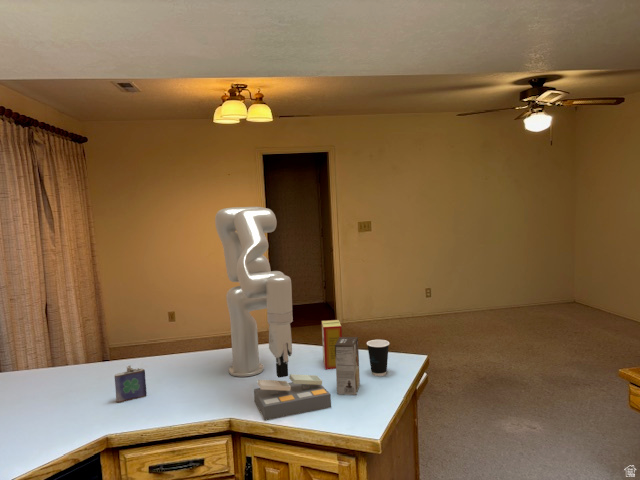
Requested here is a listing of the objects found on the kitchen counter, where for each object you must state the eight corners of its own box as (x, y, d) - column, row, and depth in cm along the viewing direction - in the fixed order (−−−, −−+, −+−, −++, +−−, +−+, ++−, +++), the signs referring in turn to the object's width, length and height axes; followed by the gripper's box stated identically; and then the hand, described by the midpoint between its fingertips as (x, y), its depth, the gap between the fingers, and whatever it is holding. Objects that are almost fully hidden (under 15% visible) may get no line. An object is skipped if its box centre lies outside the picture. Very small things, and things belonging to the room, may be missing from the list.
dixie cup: (390, 369, 168) (389, 339, 167) (390, 378, 160) (389, 346, 159) (368, 369, 169) (367, 339, 168) (366, 377, 161) (365, 346, 161)
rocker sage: (289, 378, 145) (289, 374, 145) (316, 379, 149) (316, 375, 149) (293, 383, 141) (294, 379, 141) (321, 384, 144) (322, 380, 144)
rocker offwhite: (257, 383, 142) (257, 379, 142) (285, 384, 145) (286, 380, 145) (260, 389, 137) (261, 385, 137) (290, 390, 140) (290, 386, 140)
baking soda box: (343, 368, 171) (341, 325, 170) (325, 369, 171) (323, 326, 170) (340, 359, 181) (338, 318, 180) (323, 360, 180) (321, 319, 179)
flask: (116, 403, 149) (114, 370, 148) (115, 400, 151) (113, 368, 150) (147, 396, 153) (145, 364, 153) (145, 393, 156) (143, 362, 155)
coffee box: (341, 383, 157) (339, 336, 156) (360, 384, 156) (358, 336, 155) (336, 394, 148) (334, 344, 147) (356, 395, 147) (354, 345, 146)
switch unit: (254, 401, 146) (253, 384, 145) (315, 390, 152) (314, 374, 152) (265, 420, 133) (264, 402, 132) (331, 407, 139) (330, 389, 139)
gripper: (262, 312, 147) (264, 369, 148) (274, 324, 133) (276, 387, 134) (285, 309, 149) (287, 365, 151) (299, 321, 135) (301, 383, 137)
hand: (282, 375), depth 143 cm, fingers closed
